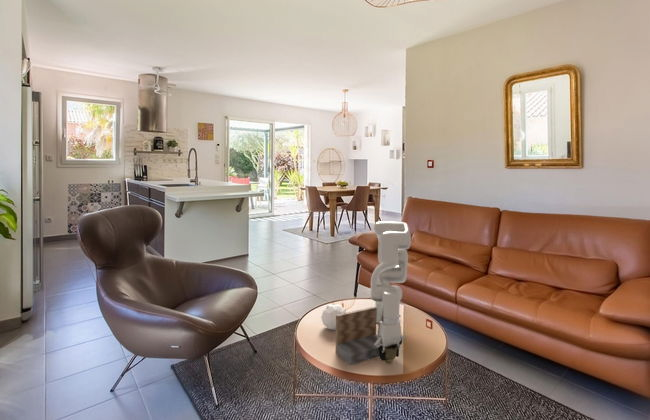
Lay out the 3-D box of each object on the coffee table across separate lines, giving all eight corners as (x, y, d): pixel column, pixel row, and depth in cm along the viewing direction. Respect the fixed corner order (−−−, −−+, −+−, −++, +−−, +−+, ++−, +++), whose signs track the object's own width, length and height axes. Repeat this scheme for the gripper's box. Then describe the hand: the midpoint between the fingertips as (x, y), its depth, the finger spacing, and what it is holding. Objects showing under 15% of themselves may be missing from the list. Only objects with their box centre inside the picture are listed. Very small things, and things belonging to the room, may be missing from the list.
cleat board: (374, 341, 178) (375, 306, 176) (390, 353, 167) (391, 315, 165) (335, 352, 167) (335, 315, 165) (350, 365, 156) (350, 325, 154)
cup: (378, 357, 163) (379, 340, 162) (394, 356, 164) (395, 339, 163) (382, 366, 156) (383, 348, 155) (399, 365, 157) (400, 348, 156)
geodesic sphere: (327, 327, 180) (339, 302, 184) (310, 318, 190) (322, 295, 194) (343, 337, 188) (355, 313, 192) (326, 328, 199) (338, 305, 203)
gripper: (400, 312, 165) (398, 349, 167) (368, 319, 157) (367, 358, 159) (411, 318, 159) (409, 356, 161) (379, 326, 150) (378, 366, 152)
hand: (389, 357), depth 160 cm, fingers closed on cup, 7 cm apart
